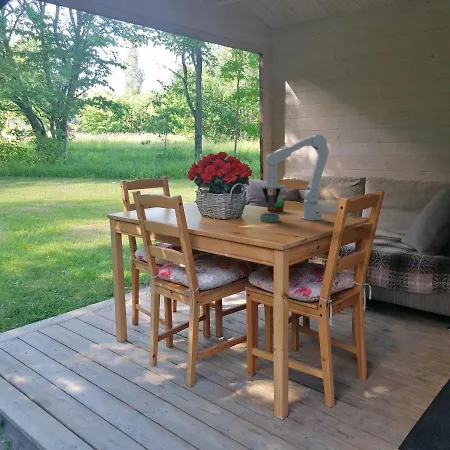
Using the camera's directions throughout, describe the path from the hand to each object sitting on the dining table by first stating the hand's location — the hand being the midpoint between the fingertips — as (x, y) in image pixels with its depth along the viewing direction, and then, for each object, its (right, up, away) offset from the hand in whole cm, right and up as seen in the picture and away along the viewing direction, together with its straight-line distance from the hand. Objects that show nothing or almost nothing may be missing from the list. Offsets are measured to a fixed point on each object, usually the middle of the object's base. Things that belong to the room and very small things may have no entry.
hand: (271, 202), depth 245 cm
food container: (+5, -4, +28) cm, 28 cm away
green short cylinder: (-1, -9, 0) cm, 9 cm away
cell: (0, -2, 0) cm, 2 cm away
